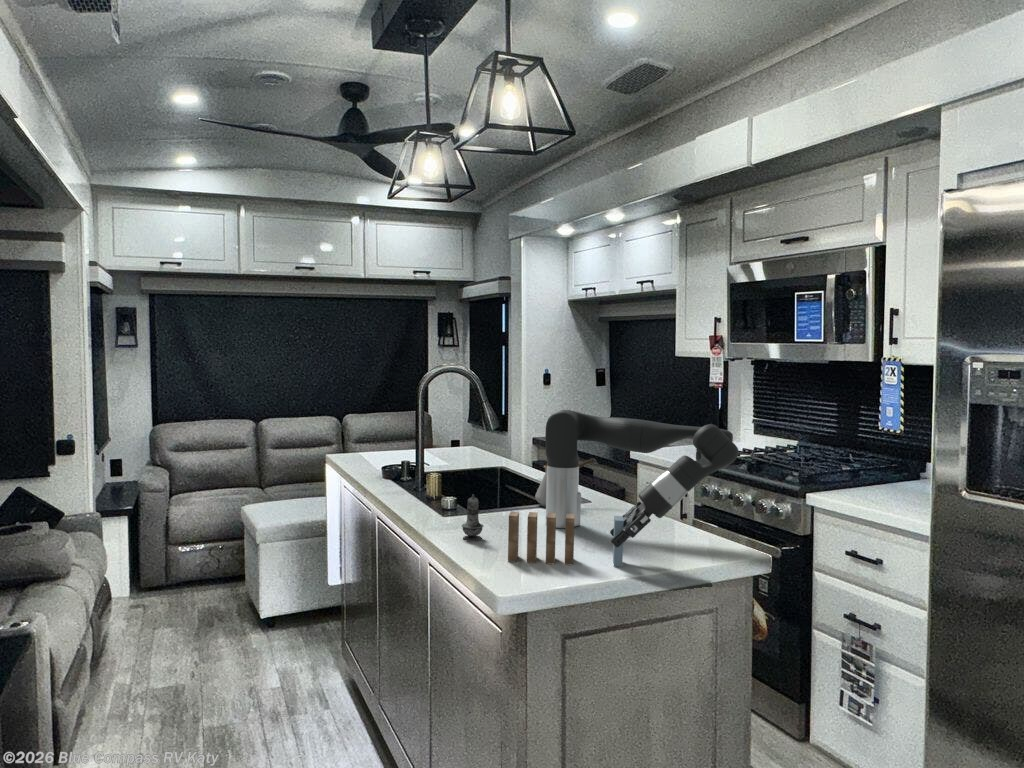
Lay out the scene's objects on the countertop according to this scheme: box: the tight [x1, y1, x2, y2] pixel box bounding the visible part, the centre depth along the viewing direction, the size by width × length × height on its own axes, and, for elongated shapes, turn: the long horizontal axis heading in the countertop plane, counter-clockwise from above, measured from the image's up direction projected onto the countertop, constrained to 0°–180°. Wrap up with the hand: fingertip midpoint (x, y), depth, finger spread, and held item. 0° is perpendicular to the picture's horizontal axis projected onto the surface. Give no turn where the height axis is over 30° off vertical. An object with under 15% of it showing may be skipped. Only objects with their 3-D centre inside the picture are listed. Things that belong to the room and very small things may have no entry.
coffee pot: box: [534, 457, 598, 508], centre depth 244 cm, size 21×12×15 cm, turn 112°
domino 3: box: [545, 513, 557, 564], centre depth 178 cm, size 2×5×11 cm, turn 174°
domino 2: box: [526, 511, 538, 564], centre depth 178 cm, size 2×5×11 cm, turn 174°
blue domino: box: [612, 515, 624, 567], centre depth 176 cm, size 2×5×11 cm, turn 174°
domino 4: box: [564, 514, 575, 565], centre depth 177 cm, size 2×5×11 cm, turn 174°
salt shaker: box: [461, 493, 485, 542], centre depth 197 cm, size 6×6×12 cm
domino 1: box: [507, 510, 520, 563], centre depth 179 cm, size 2×5×11 cm, turn 174°
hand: (613, 539), depth 176 cm, fingers open, 8 cm apart
